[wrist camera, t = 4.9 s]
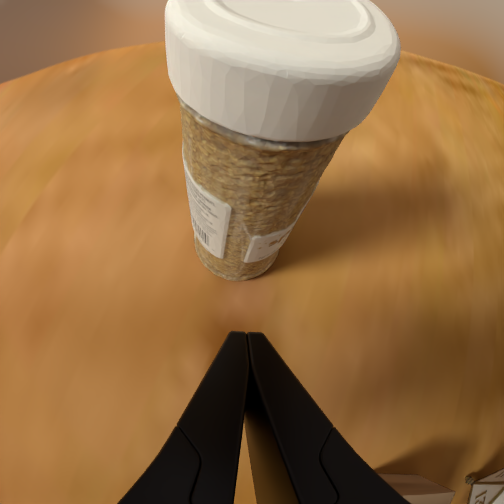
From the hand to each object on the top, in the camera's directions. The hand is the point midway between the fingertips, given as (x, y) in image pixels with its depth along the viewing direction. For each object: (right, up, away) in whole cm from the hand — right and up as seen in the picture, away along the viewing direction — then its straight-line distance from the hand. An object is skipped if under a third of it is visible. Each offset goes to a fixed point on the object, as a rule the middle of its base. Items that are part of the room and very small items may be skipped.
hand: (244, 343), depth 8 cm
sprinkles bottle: (-1, +3, +9) cm, 10 cm away
